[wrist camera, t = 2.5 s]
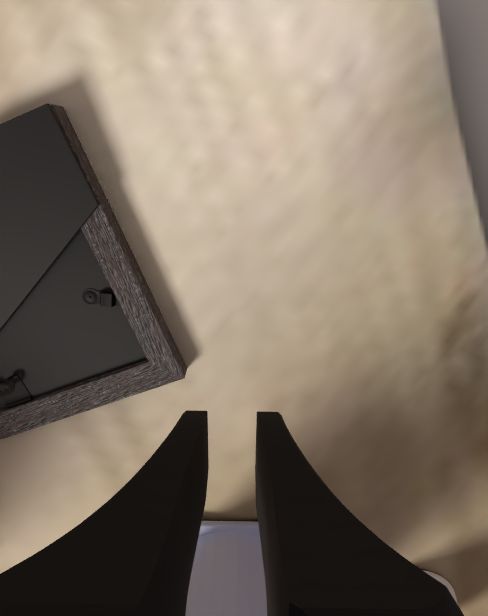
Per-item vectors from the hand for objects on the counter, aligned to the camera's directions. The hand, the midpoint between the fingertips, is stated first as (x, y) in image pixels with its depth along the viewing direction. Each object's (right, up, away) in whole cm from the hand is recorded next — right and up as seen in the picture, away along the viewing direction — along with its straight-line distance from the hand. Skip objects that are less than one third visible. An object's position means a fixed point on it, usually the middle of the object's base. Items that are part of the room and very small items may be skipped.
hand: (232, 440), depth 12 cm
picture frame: (-13, +4, +9) cm, 17 cm away
